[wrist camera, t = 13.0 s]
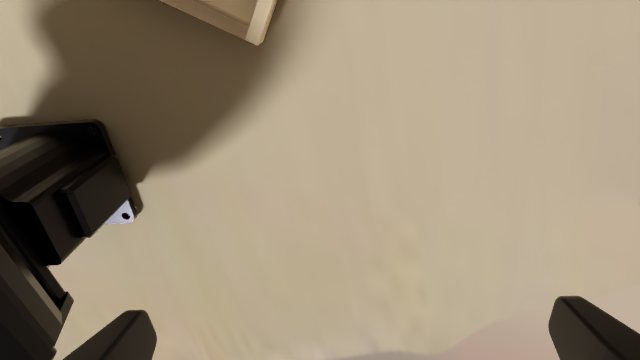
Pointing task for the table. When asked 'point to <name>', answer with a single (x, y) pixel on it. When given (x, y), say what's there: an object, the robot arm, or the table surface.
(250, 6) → the pale maple socket
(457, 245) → the table surface
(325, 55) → the table surface
